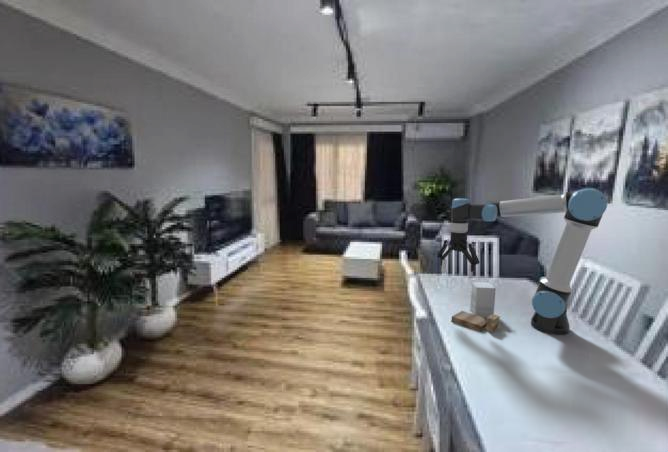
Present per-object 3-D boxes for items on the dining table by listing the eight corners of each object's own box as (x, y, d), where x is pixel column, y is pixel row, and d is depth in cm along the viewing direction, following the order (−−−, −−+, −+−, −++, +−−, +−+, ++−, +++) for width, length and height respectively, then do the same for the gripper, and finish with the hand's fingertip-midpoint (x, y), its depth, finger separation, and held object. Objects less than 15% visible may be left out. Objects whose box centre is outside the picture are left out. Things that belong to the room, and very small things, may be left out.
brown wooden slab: (490, 325, 168) (490, 319, 168) (480, 332, 162) (481, 325, 161) (461, 316, 178) (462, 310, 178) (451, 322, 172) (451, 316, 171)
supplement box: (488, 310, 185) (490, 282, 183) (493, 318, 176) (496, 288, 174) (469, 310, 186) (471, 281, 184) (474, 317, 177) (476, 287, 175)
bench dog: (498, 328, 164) (499, 316, 163) (492, 332, 160) (493, 319, 159) (491, 326, 166) (493, 314, 166) (486, 330, 162) (487, 317, 161)
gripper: (488, 233, 166) (485, 279, 169) (439, 227, 184) (437, 268, 187) (481, 235, 161) (478, 282, 164) (431, 229, 179) (429, 271, 182)
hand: (456, 275), depth 176 cm, fingers open, 13 cm apart
